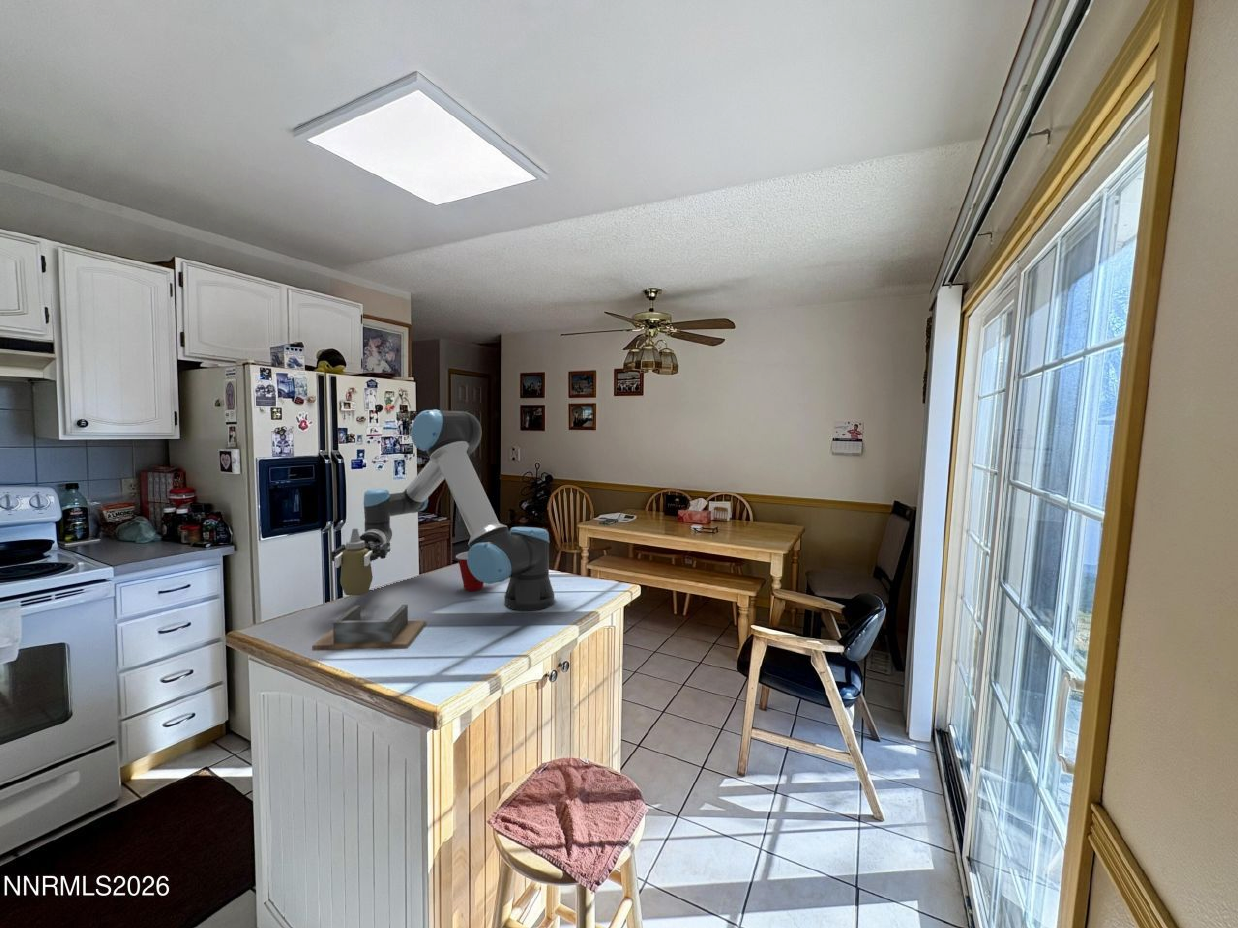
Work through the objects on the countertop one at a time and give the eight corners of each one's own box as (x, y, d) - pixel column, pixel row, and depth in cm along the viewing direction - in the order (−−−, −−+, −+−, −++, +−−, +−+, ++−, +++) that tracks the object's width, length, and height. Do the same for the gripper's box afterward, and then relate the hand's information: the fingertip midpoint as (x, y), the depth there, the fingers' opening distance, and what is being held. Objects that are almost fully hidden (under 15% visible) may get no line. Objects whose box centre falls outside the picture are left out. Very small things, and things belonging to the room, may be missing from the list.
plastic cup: (464, 582, 175) (464, 548, 174) (494, 584, 173) (494, 549, 172) (449, 592, 164) (449, 556, 163) (481, 594, 162) (481, 557, 162)
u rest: (426, 624, 138) (425, 602, 137) (407, 647, 123) (406, 623, 122) (341, 625, 136) (341, 603, 136) (312, 649, 121) (311, 624, 121)
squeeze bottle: (359, 598, 137) (357, 532, 136) (333, 596, 138) (331, 531, 137) (379, 589, 145) (377, 526, 144) (354, 587, 146) (352, 525, 145)
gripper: (404, 553, 161) (390, 573, 139) (336, 557, 156) (310, 578, 134) (404, 530, 160) (389, 546, 138) (335, 532, 156) (309, 549, 133)
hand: (351, 561), depth 136 cm, fingers closed on squeeze bottle, 6 cm apart
